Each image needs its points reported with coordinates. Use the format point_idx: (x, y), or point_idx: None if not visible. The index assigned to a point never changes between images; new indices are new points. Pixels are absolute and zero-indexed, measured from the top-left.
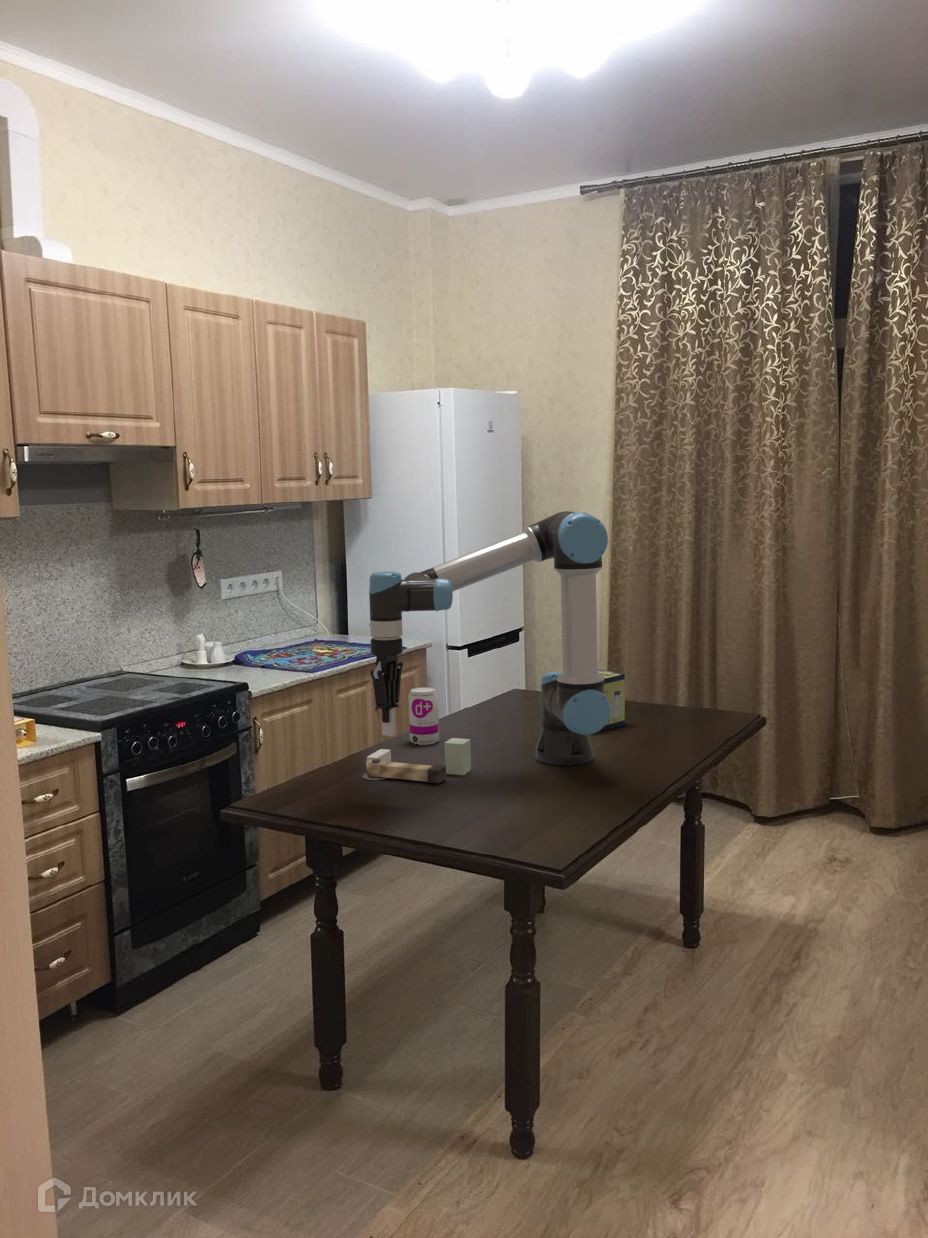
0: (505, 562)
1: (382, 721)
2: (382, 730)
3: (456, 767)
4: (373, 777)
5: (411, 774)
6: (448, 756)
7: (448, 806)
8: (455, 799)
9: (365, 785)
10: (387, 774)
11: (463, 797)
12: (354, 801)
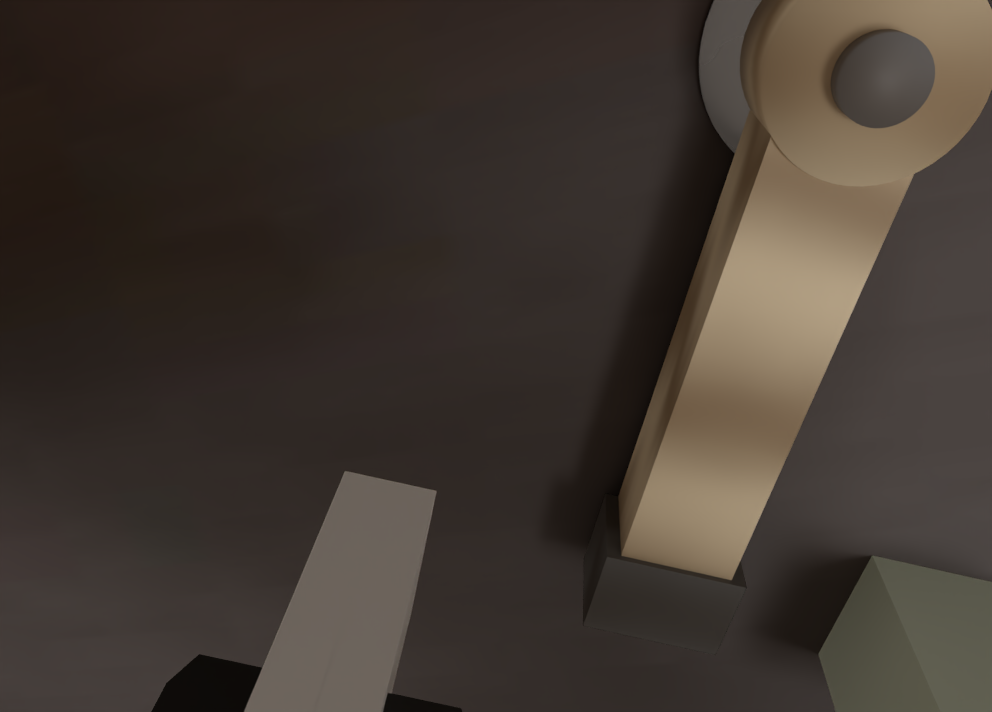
0: None
1: (185, 671)
2: (324, 525)
3: (852, 658)
4: None
5: (660, 407)
6: (903, 678)
7: (204, 626)
8: None
9: (547, 16)
10: (728, 194)
11: None
12: (110, 44)
